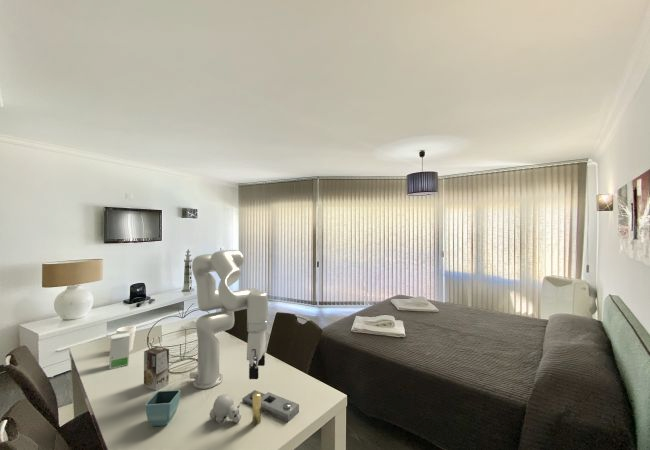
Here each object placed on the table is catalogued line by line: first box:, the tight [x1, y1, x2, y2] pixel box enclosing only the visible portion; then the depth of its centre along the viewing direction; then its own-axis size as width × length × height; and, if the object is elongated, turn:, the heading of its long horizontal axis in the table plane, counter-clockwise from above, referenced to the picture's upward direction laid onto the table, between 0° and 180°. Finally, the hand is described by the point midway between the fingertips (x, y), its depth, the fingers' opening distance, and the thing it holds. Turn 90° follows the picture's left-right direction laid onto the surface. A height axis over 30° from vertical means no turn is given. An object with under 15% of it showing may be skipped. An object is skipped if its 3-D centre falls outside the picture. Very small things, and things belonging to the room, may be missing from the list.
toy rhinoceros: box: [209, 393, 242, 423], centre depth 102 cm, size 7×12×8 cm, turn 70°
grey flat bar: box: [241, 389, 300, 423], centre depth 110 cm, size 24×7×3 cm, turn 59°
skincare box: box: [108, 333, 130, 370], centre depth 145 cm, size 8×7×16 cm
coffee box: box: [143, 345, 170, 391], centre depth 126 cm, size 9×6×16 cm
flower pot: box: [144, 389, 181, 427], centre depth 101 cm, size 9×9×9 cm
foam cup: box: [115, 325, 137, 352], centre depth 163 cm, size 10×9×13 cm
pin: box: [251, 391, 262, 426], centre depth 101 cm, size 3×3×10 cm
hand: (257, 371), depth 101 cm, fingers open, 9 cm apart
